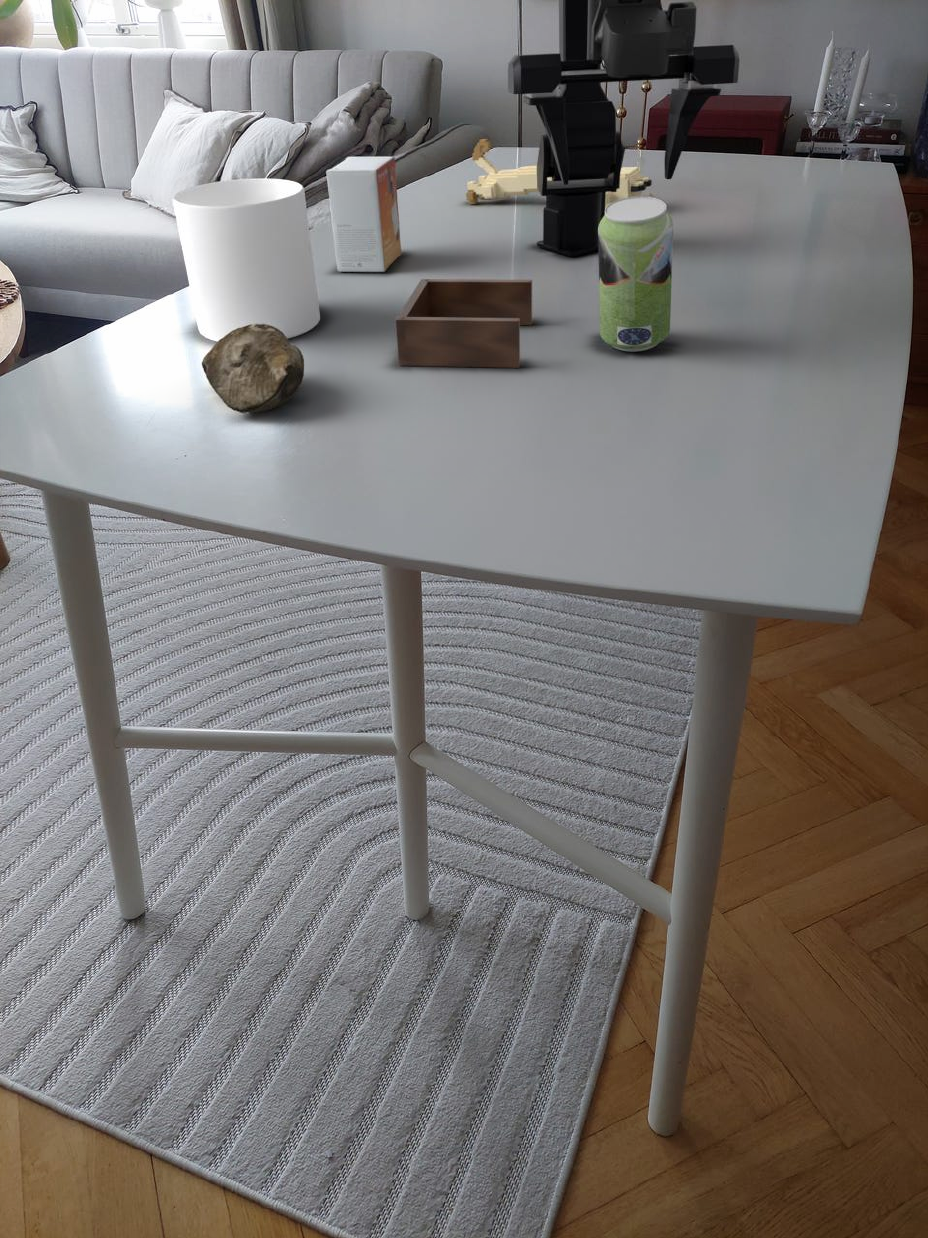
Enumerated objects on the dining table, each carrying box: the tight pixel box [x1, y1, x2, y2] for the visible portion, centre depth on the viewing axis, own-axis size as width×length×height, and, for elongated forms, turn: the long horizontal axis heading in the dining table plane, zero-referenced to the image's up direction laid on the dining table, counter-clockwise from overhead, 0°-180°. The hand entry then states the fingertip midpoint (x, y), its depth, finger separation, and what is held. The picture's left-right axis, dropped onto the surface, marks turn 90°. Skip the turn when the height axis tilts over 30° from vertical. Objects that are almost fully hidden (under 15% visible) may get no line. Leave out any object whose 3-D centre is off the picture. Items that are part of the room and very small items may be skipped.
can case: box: [395, 278, 533, 369], centre depth 86 cm, size 10×12×4 cm
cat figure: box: [465, 138, 656, 209], centre depth 126 cm, size 10×9×25 cm
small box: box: [325, 156, 402, 273], centre depth 106 cm, size 8×6×10 cm
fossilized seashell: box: [201, 324, 305, 414], centre depth 77 cm, size 8×7×10 cm
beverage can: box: [597, 196, 674, 353], centre depth 81 cm, size 6×7×12 cm
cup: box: [172, 177, 321, 343], centre depth 90 cm, size 12×12×12 cm
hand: (616, 181), depth 86 cm, fingers open, 9 cm apart
